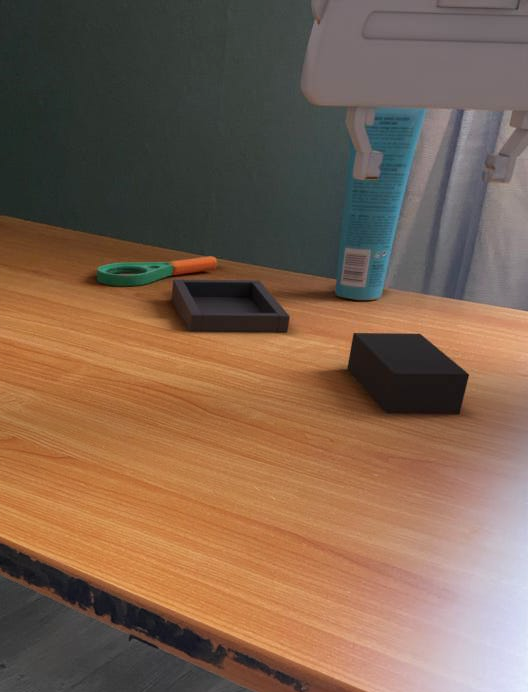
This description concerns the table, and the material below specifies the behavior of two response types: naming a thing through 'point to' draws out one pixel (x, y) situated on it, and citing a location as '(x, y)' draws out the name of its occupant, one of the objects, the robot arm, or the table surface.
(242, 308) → the black tray
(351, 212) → the tube
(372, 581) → the table surface
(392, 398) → the black block
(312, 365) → the table surface
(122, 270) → the magnifying glass
